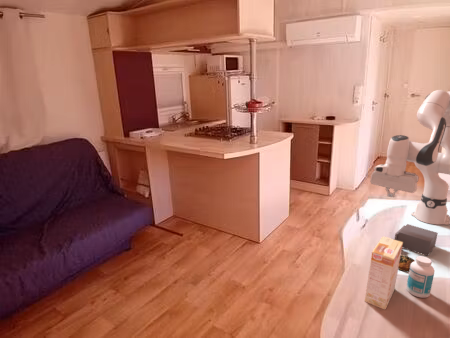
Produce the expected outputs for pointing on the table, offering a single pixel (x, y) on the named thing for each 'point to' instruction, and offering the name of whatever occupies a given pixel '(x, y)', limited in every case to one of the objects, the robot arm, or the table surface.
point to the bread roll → (405, 263)
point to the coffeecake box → (383, 272)
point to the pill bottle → (420, 277)
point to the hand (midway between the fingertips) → (390, 196)
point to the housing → (417, 239)
